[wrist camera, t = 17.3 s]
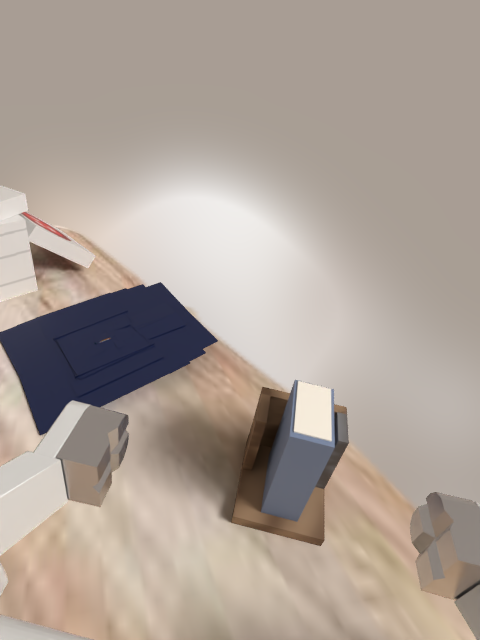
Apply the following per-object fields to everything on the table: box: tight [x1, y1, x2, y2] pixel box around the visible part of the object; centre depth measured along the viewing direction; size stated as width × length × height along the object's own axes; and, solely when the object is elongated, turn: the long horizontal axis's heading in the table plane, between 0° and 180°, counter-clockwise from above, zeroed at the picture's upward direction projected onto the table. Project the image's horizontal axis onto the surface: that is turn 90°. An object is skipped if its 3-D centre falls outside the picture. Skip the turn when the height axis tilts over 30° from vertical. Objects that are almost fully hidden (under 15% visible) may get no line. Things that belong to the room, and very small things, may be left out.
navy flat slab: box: [0, 282, 218, 435], centre depth 67 cm, size 24×30×4 cm
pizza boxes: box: [0, 186, 95, 302], centre depth 74 cm, size 19×30×18 cm, turn 138°
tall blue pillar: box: [261, 380, 335, 522], centre depth 46 cm, size 4×8×15 cm, turn 170°
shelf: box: [231, 387, 349, 546], centre depth 48 cm, size 11×12×12 cm
